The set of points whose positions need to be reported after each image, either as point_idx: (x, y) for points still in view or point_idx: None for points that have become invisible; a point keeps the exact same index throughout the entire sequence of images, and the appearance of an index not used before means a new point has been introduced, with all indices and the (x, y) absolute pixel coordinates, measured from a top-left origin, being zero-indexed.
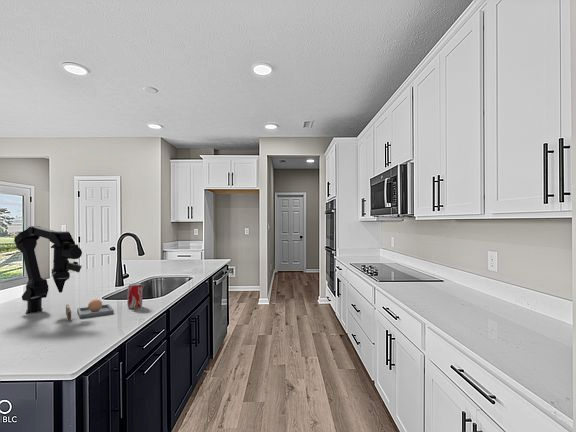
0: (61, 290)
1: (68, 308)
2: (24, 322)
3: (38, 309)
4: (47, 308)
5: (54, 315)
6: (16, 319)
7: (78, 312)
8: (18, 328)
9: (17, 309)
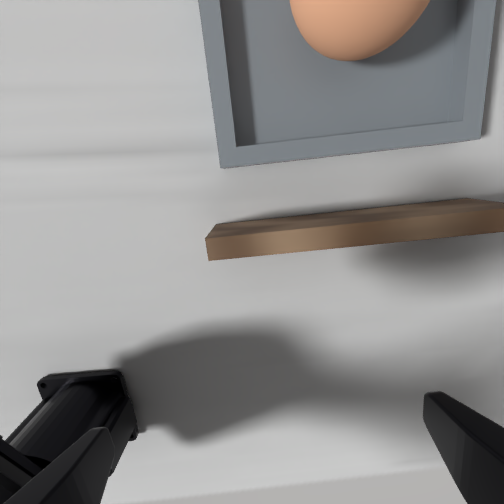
0: (472, 425)
1: (382, 232)
2: (335, 418)
3: (116, 400)
4: (31, 352)
5: (253, 301)
6: (245, 454)
7: (353, 153)
8: None
9: None
